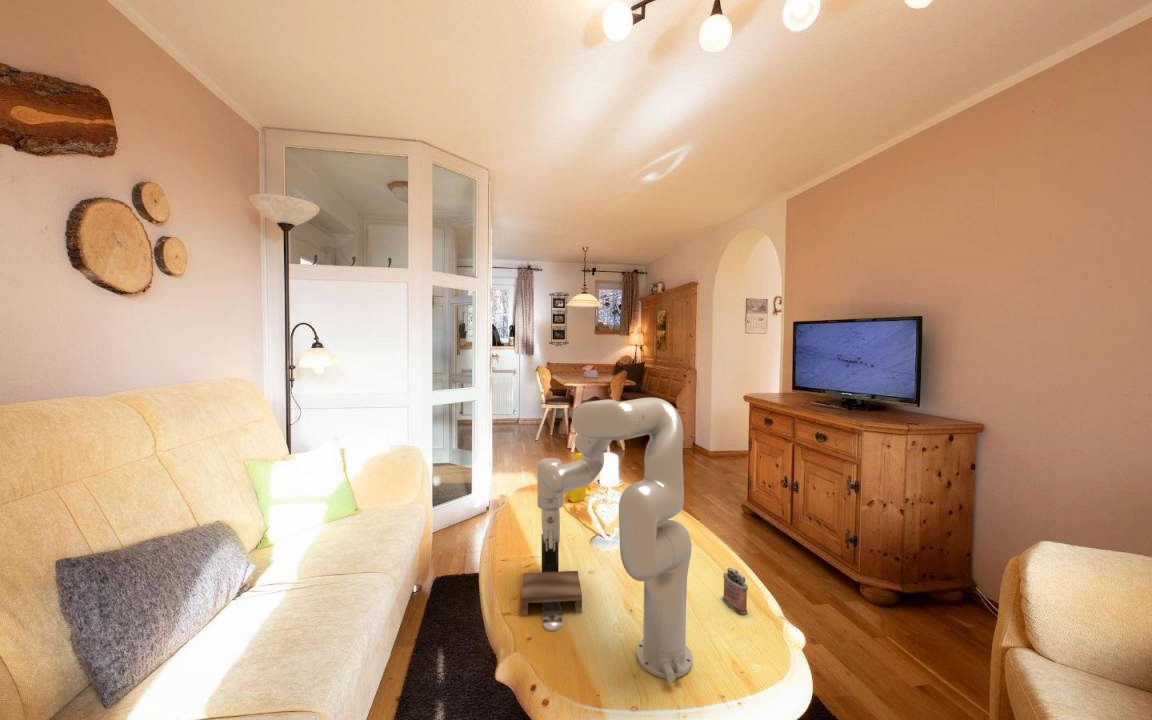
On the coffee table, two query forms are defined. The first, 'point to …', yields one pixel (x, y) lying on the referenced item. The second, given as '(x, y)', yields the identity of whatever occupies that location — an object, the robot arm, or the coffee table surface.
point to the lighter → (735, 591)
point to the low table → (551, 588)
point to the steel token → (552, 623)
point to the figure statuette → (579, 492)
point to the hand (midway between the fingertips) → (550, 559)
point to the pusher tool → (550, 607)
